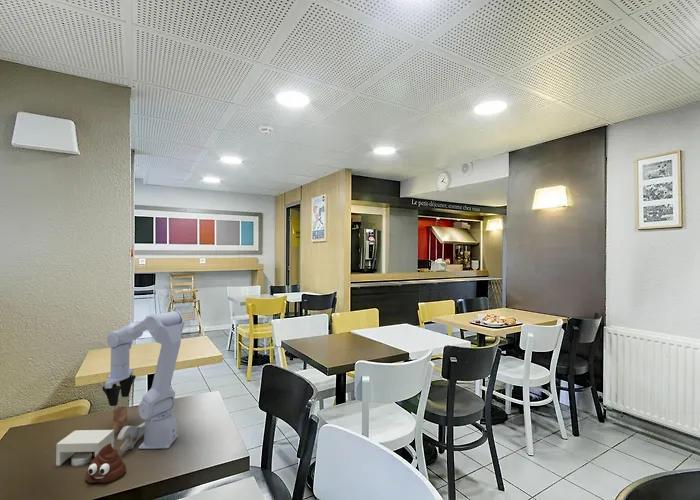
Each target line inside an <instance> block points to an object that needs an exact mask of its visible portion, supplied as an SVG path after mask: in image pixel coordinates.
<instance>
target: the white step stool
mask: <svg viewBox="0 0 700 500" xmlns="http://www.w3.org/2000/svg"><path fill="white" fill-rule="evenodd" d="M110 443H111V446H112V447H113V449H115V434H114V430H112V429H91V430H90V429H86V430H85V429H84V430H83V429H82V430H81V429H79V430H77V429H76V430H73V431H72V432H71V433H70V434H68V435H66V437H63V439H61V440H59V441H58V442H57V443H56V447H55V448H56V450H55V451H56V454H55V456H56V457H55V460H56V462H55V466H56V467H59V466H61V465H62V464H64V463H65V462H66V461H67V460H69V459H71V458H72V456H73V455H75V454H77V453H78V452H95V456H96V455H97V454H98V453H99V451H100V450H101V449H102V448H103V447H104V446H106V445H107V444H110ZM95 456H94V457H95Z"/></svg>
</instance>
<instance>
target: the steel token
mask: <svg viewBox="0 0 700 500" xmlns="http://www.w3.org/2000/svg"><path fill="white" fill-rule="evenodd" d="M70 459H71V460H70V462H71V463H70V464H71V466H72V467H81V466H85V465H87V464H88V463H91V461H92V460H93V456H92V452H79V453H78V452H76V453H74V454H73V455H72V456H71V458H70Z"/></svg>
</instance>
